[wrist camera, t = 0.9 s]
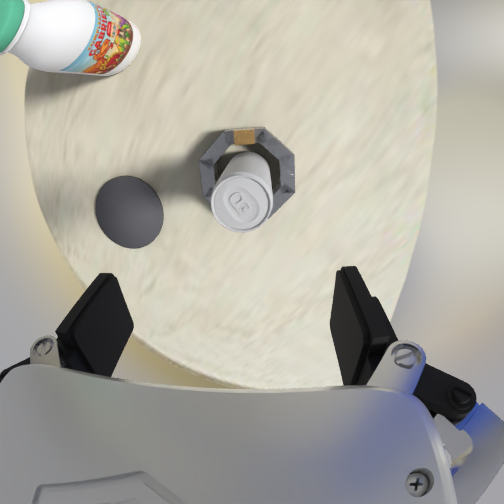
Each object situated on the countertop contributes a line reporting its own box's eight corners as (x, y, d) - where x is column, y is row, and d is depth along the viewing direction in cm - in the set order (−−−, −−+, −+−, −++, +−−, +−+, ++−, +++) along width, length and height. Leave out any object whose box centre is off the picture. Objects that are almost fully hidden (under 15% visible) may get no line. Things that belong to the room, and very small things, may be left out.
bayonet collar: (200, 131, 29) (194, 134, 26) (291, 126, 28) (294, 128, 26) (209, 213, 34) (204, 224, 31) (293, 210, 33) (295, 220, 30)
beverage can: (244, 198, 33) (235, 245, 22) (218, 167, 31) (195, 199, 21) (277, 175, 31) (286, 211, 21) (252, 142, 30) (247, 160, 19)
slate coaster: (90, 181, 32) (88, 183, 31) (156, 171, 31) (154, 172, 31) (107, 247, 37) (105, 249, 36) (169, 244, 36) (168, 247, 36)
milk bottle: (94, 86, 26) (-35, 96, 8) (86, 37, 22) (-32, 21, 5) (148, 62, 25) (25, 33, 7) (138, 11, 21) (31, -43, 4)
